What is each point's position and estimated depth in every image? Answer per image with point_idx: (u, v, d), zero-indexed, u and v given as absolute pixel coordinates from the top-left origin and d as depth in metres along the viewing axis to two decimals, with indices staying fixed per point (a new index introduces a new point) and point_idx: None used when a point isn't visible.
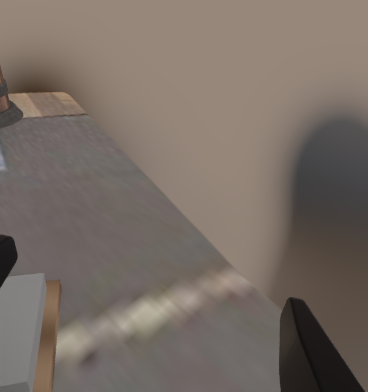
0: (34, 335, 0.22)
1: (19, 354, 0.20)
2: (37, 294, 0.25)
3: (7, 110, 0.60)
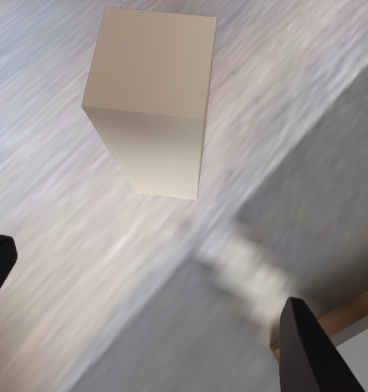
0: None
1: None
2: None
3: None
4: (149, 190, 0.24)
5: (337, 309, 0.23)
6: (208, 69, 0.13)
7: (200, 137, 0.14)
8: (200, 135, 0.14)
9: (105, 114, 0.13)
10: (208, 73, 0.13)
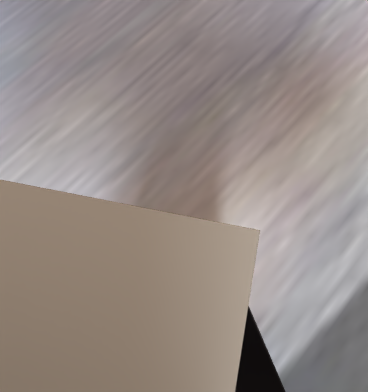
0: None
1: None
2: None
3: None
4: None
5: None
6: None
7: None
8: None
9: None
10: None
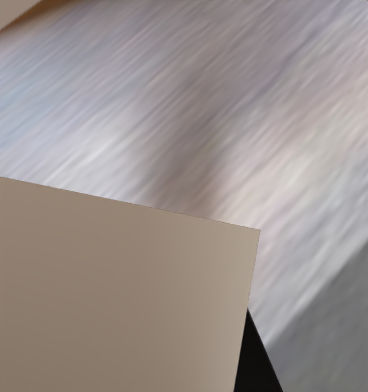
0: None
1: None
2: None
3: None
4: None
5: None
6: None
7: None
8: None
9: None
10: None
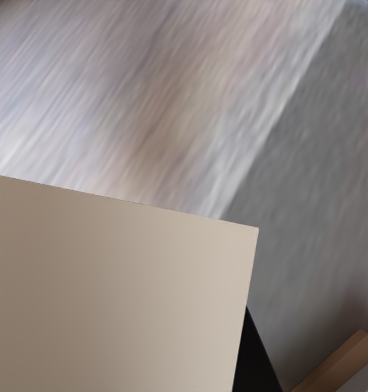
0: None
1: None
2: None
3: None
4: None
5: (301, 384, 0.21)
6: None
7: None
8: None
9: None
10: None
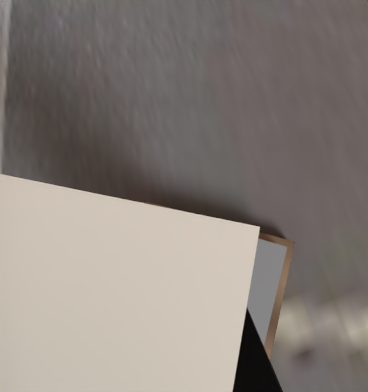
0: None
1: None
2: (275, 281, 0.19)
3: None
4: None
5: None
6: None
7: None
8: None
9: None
10: None
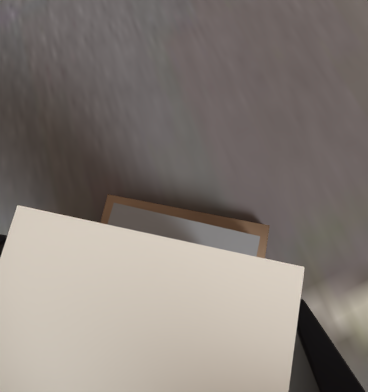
0: None
1: None
2: None
3: None
4: None
5: None
6: None
7: None
8: None
9: None
10: None
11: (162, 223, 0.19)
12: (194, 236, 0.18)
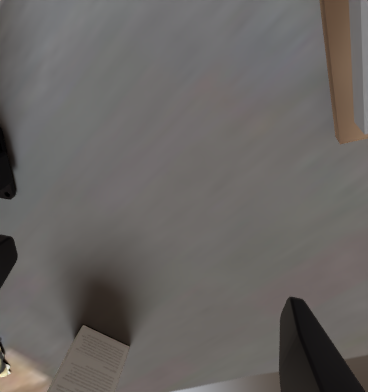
0: None
1: None
2: None
3: None
4: None
5: None
6: None
7: None
8: None
9: None
10: None
11: None
12: None
